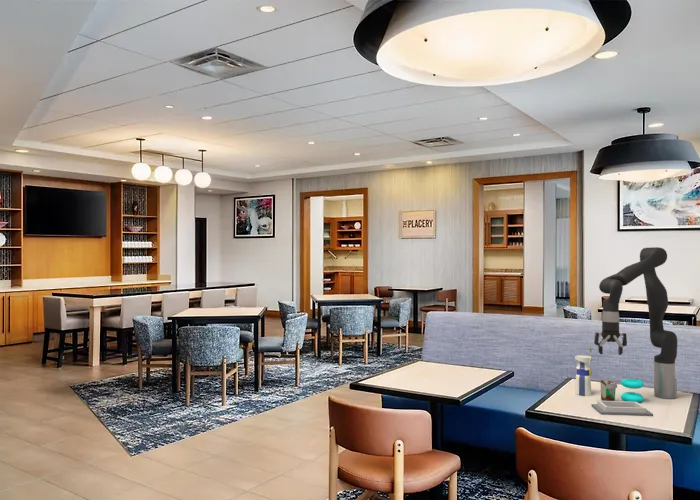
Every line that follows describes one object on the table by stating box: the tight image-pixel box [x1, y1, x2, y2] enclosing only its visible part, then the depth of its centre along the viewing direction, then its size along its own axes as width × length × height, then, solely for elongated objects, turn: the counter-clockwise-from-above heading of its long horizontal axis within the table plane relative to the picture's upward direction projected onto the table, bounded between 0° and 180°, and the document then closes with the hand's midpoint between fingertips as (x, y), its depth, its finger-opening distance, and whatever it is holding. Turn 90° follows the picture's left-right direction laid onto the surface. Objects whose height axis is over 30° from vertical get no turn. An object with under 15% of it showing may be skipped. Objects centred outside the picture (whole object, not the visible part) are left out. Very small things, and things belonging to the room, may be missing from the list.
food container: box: [599, 378, 618, 401], centre depth 274 cm, size 12×6×10 cm, turn 168°
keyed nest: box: [590, 400, 654, 417], centre depth 259 cm, size 22×14×3 cm, turn 83°
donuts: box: [620, 378, 645, 404], centre depth 278 cm, size 10×10×10 cm
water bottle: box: [574, 346, 593, 397], centre depth 290 cm, size 8×9×25 cm
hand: (610, 354), depth 274 cm, fingers open, 8 cm apart
